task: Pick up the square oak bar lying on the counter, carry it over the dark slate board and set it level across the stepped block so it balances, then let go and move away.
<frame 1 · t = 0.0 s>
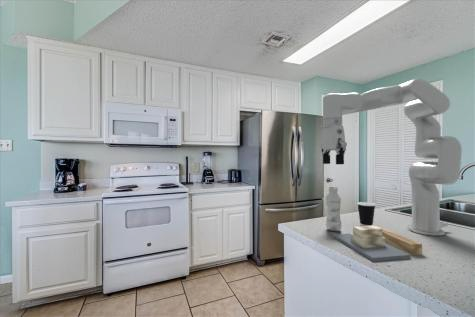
hand: (332, 164, 93), 31 cm above the counter, tool pointing down, fingers open, 9 cm apart
stepped block: (367, 235, 83), on the slate board, point 4 cm above the counter
plastic bottle: (333, 231, 101), on the counter
dixie cup: (366, 226, 108), on the counter
oak bar: (393, 244, 85), on the counter
slate board: (367, 246, 83), on the counter
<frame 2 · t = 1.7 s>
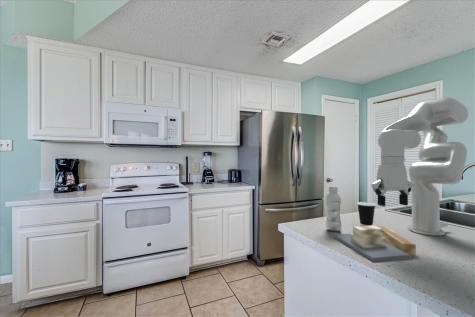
hand: (392, 205, 85), 15 cm above the counter, tool pointing down, fingers open, 9 cm apart
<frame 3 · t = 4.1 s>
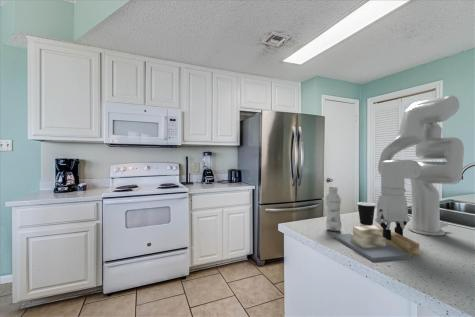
hand: (392, 238, 85), 2 cm above the counter, tool pointing down, fingers closed on oak bar, 4 cm apart
oak bar: (392, 243, 85), on the counter, touching gripper
everything else where it was.
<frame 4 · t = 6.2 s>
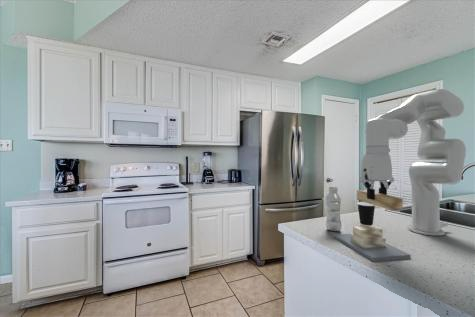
hand: (376, 198, 84), 18 cm above the counter, tool pointing down, fingers closed on oak bar, 4 cm apart
oak bar: (377, 204, 83), point 16 cm above the counter, touching gripper
everything else where it was.
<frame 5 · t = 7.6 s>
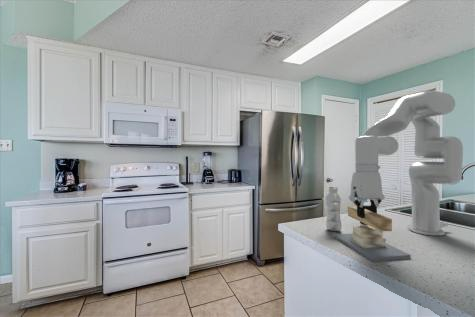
hand: (366, 216, 83), 11 cm above the counter, tool pointing down, fingers closed on oak bar, 4 cm apart
oak bar: (367, 222, 83), point 9 cm above the counter, touching gripper
everything else where it was.
when the fingers open (10 cm above the counter, at t = 8.7 s): oak bar stays where it is, resting on stepped block.
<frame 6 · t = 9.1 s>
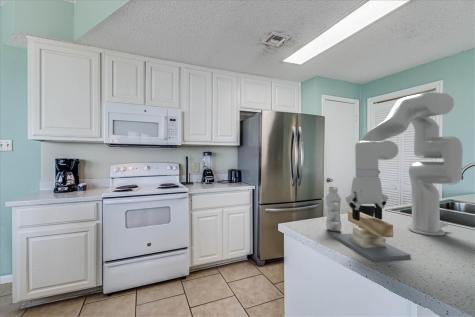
hand: (367, 219, 83), 10 cm above the counter, tool pointing down, fingers open, 8 cm apart
oak bar: (367, 227, 83), point 7 cm above the counter, touching stepped block
everything else where it was.
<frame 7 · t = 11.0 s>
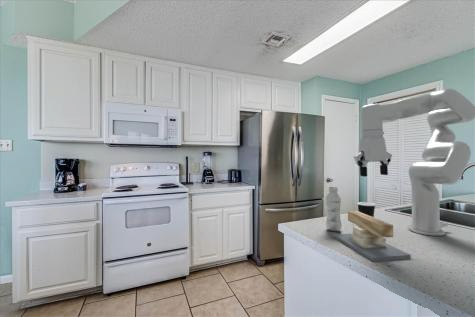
hand: (373, 175, 91), 26 cm above the counter, tool pointing down, fingers open, 9 cm apart
nothing on the counter moved.
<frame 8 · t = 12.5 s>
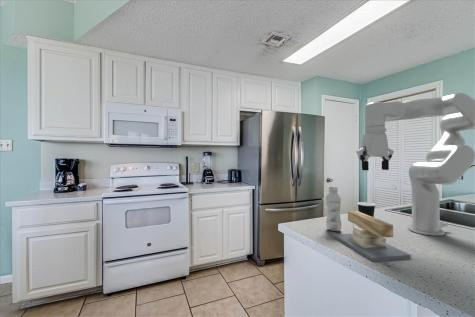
hand: (375, 170, 95), 28 cm above the counter, tool pointing down, fingers open, 9 cm apart
nothing on the counter moved.
at the end: oak bar touching stepped block; oak bar tilted 0° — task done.
